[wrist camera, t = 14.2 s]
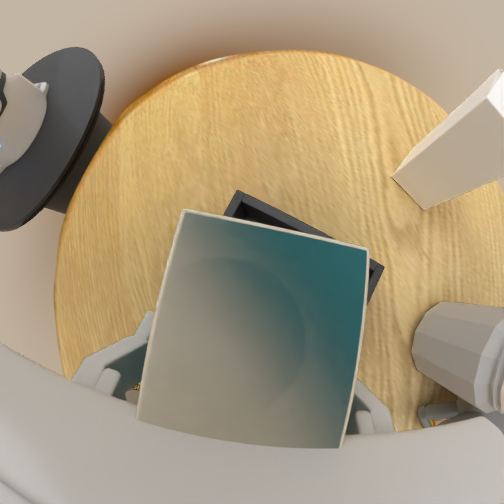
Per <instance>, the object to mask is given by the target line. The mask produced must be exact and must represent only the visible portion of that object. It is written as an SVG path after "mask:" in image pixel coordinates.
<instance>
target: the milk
mask: <svg viewBox="0 0 504 504" xmlns="http://www.w3.org/2000/svg"><path fill="white" fill-rule="evenodd" d="M503 176H504V70H501V69H497V70H496V71H495V72H494V73H493V74H492V75H491V76H490V77H489V78H488V79H487V80H486V81H485V82H484V83H483V84H482V85H481V86H480V87H479V88H477V90H475V91H474V92H473V93H472V94H471V95H470V96H469V97H468V98H467V99H466V100H465V101H464V102H463V103H462V104H460V105H459V106H458V107H457V108H456V109H455V110H454V111H453V112H452V113H451V114H450V115H449V116H447V117H446V118H445V119H444V120H443V121H442V122H441V123H440V124H439V125H438V126H437V127H435V128H434V129H433V130H432V131H431V132H430V133H429V134H428V135H427V136H425V137H424V138H423V139H422V140H421V141H420V142H419V143H418V144H417V145H415V146H414V147H413V148H412V149H411V151H410V152H409V153H408V155H407V156H406V157H405V159H404V160H403V161H402V163H401V164H400V165H399V167H398V168H397V169H396V170H395V172H394V173H393V174H392V176H391V177H392V178H393V179H394V180H395V181H396V182H397V183H398V184H399V185H400V186H401V187H402V188H403V189H404V190H405V191H406V192H407V193H408V194H409V195H410V196H411V197H412V199H413V200H414V201H415V202H416V203H417V204H418V205H419V206H420V207H421V208H422V209H423V210H427V209H429V208H432V207H434V206H436V205H439V204H441V203H444V202H446V201H448V200H451V199H453V198H455V197H458V196H460V195H462V194H465V193H467V192H469V191H472V190H474V189H476V188H478V187H481V186H483V185H485V184H488V183H490V182H492V181H494V180H497V179H499V178H501V177H503Z"/></svg>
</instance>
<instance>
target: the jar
mask: <svg viewBox="0 0 504 504" xmlns="http://www.w3.org/2000/svg"><path fill="white" fill-rule="evenodd" d="M412 355H413V359H414V362H415V366H416V369H417V370H419V371H420V372H421V373H423V374H424V375H426V376H427V377H429V378H430V379H432V380H433V381H435V382H436V383H438V384H440V385H441V386H443V387H444V388H446V389H448V390H449V391H451V392H453V393H454V394H456V395H457V396H459V397H461V398H462V399H464V400H465V401H467V402H469V403H470V404H472V405H473V406H475V407H477V408H478V409H480V410H482V411H483V412H485V413H486V414H487V413H490V412H493V411H495V410H497V411H499V412H500V413H501V414H503V413H504V308H501V307H492V306H484V305H476V304H469V303H461V302H440V303H439V304H437V305H436V306H434V307H433V308H431V309H430V310H429V311H427V312H426V313H425V315H424V317H423V319H422V320H421V322H420V324H419V325H418V327H417V329H416V330H415V335H414V341H413V346H412Z"/></svg>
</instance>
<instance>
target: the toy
mask: <svg viewBox="0 0 504 504" xmlns="http://www.w3.org/2000/svg"><path fill="white" fill-rule="evenodd" d="M417 414H418V417H419V419H420V422H421V424H422V426H423V428H428V427H434V426H435V423H434V420H439V419H447V420H445V421H443V422H441V423H440V424H438V425H437V426H439V425H445V424H450V423H454V422H459V421H463V420H467V419H471V418H475V417H480V416H482V417H485V418H487V419H488V420H489V421H491V422H492V423H493V424H494V425H495V426H496V427H498V428H499V430H500V431H501V432H502V433H503V435H504V413H503V414H501V413H500V412H499V411H497V410H495V411H493V412H490V413H487V414H486V413H485V412H483V411H482V410H480V409H478V408H477V407H475V406H473V405H472V404H470V403H469V402H467V401H465V400H464V399H462V398H461V397H459V396H457V399H456V401H454V402H445V403H437V404H429V405H427V406H426V407H425V406H424V405H423V406H421V407H419V409H418V411H417Z"/></svg>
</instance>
